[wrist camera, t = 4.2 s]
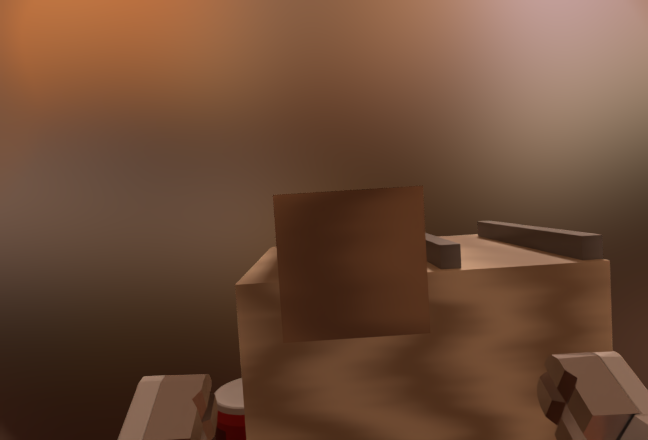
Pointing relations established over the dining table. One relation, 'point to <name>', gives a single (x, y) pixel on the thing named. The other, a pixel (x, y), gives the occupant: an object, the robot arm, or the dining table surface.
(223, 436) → the canned food
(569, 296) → the zigzag patterned box
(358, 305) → the walnut block
